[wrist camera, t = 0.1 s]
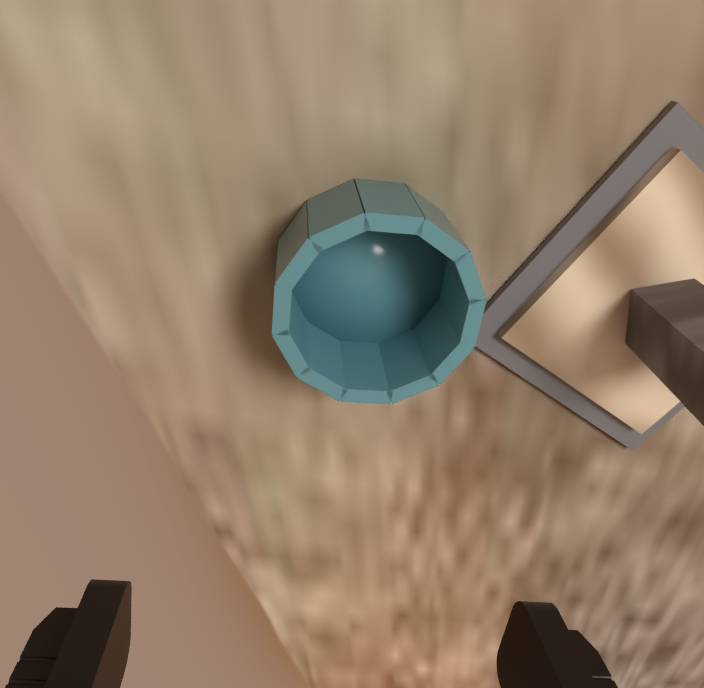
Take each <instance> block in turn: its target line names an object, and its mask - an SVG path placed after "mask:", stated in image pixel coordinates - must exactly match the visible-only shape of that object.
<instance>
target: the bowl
mask: <svg viewBox="0 0 704 688" xmlns="http://www.w3.org/2000/svg"><path fill="white" fill-rule="evenodd" d="M486 299H487V298H486V295H485V292H484V289H483V287H482V284H481V281H480V278H479V275H478V272H477V269H476V266H475V263H474V261H473V258H472V255H471V252H470V250H469V249H468V247H467V246H466V245H465V243H464V242H463V240H462V239H461V237H460V236H459V234H458V233H457V231H456V230H455V229H454V227H453V226H452V224H451V223H450V221H449V220H448V218H447V217H446V215H445V214H444V213H443V212H442V211H441V210H439V209H438V208H437V207H435V206H434V205H433V204H431V203H430V202H429V201H427V200H426V199H425V198H423V197H422V196H421V195H420V194H418V193H417V192H416V191H414V190H413V189H412V188H410V187H409V186H408V185H405V184H402V183H392V182H381V181H371V180H361V179H355V181H354V180H350V181H348V182H346V183H344V184H342V185H339V186H337V187H335V188H333V189H331V190H328V191H326V192H324V193H322V194H320V195H317V196H315V197H313V198H311V199H309V200H307V201H306V202H305V203H304V205H303V206H302V208H301V209H300V210H299V212H298V213H297V215H296V216H295V217H294V219H293V220H292V222H291V223H290V225H289V226H288V227H287V229H286V230H285V232H284V233H283V235H282V236H281V237H280V239H279V240H278V247H277V259H276V272H275V285H274V303H273V320H272V337H273V338H274V340H275V342H276V344H277V345H278V347H279V349H280V350H281V352H282V354H283V355H284V357H285V359H286V361H287V362H288V364H289V366H290V367H291V369H292V371H293V372H294V374H295V376H296V377H297V378H298V379H300V380H302V381H304V382H305V383H307V384H309V385H311V386H313V387H314V388H316V389H318V390H320V391H322V392H323V393H325V394H327V395H329V396H331V397H332V398H334V399H336V400H338V401H340V400H341V402H356V403H376V404H391V403H392V404H393V403H396V402H398V401H401V400H403V399H406V398H408V397H411V396H413V395H416V394H418V393H421V392H423V391H426V390H428V389H431V388H434V387H436V386H439V385H438V384H441V383H442V382H443V381H444V380H445V379H446V378H447V377H448V376H449V375H450V373H451V372H452V371H453V370H454V369H455V368H456V367H457V366H458V365H459V364H460V363H461V362H462V361H463V360H464V359H465V357H466V356H467V355H468V354H469V353H470V352H471V351H472V350H473V349H474V347H475V344H476V340H477V336H478V332H479V328H480V325H481V321H482V317H483V313H484V309H485V305H486V301H487V300H486Z"/></svg>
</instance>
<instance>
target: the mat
mask: <svg viewBox="0 0 704 688" xmlns="http://www.w3.org/2000/svg"><path fill="white" fill-rule="evenodd" d="M671 147H675V148H677V149H680V150H682V151H683V152H684V153H685V154H686V155H687V156H688V157H689V158H690V159H691V160H692V161H693V162H694V163H695V164H696V165H697V166H698V167H699V168H700V169H701V170H702V171H703V172H704V129H703V128H702V127H701V126H700V125H699V124H698V123H697V122H696V121H695V120H694V119H693V118H692V117H691V116H690V115H689V114H688V112H687V111H686V110H685V109H684V108H683V107H682V106H681V105H680V104H679V103H678V102H674V101H672V102H671V103H670V104H669V105H668V106H667V107H666V108H665V110H664V111H663V112H662V113H661V114H660V115H659V116H658V117H657V118H656V119H655V121H654V122H653V123H652V124H651V125H650V126H649V127H648V128H647V129H646V130H645V131H644V133H643V134H642V135H641V136H640V137H639V138H638V139H637V140H636V141H635V142H634V143H633V145H632V146H631V147H630V148H629V149H628V150H627V151H626V152H625V153H624V154H623V155H622V157H621V158H620V159H619V160H618V161H617V162H616V163H615V164H614V165H613V166H612V167H611V169H610V170H609V171H608V172H607V173H606V174H605V175H604V176H603V177H602V178H601V179H600V181H599V182H598V183H597V184H596V185H595V186H594V187H593V188H592V189H591V190H590V192H589V193H588V194H587V195H586V196H585V197H584V198H583V199H582V200H581V201H580V202H579V204H578V205H577V206H576V207H575V208H574V209H573V210H572V211H571V212H570V213H569V214H568V216H567V217H566V218H565V219H564V220H563V221H562V222H561V223H560V224H559V225H558V226H557V228H556V229H555V230H554V231H553V232H552V233H551V234H550V235H549V236H548V237H547V238H546V240H545V241H544V242H543V243H542V244H541V245H540V246H539V247H538V248H537V249H536V251H535V252H534V253H533V254H532V255H531V256H530V257H529V258H528V259H527V260H526V261H525V263H524V264H523V265H522V266H521V267H520V268H519V269H518V270H517V271H516V272H515V273H514V275H513V276H512V277H511V278H510V279H509V280H508V281H507V282H506V283H505V284H504V285H503V287H502V288H501V289H500V290H499V291H498V292H497V293H496V294H495V295H494V296H493V297H492V299H491V300H490V301H489V302H488V303H487V304H486V305H485V309H484V313H483V317H482V321H481V325H480V328H479V332H478V336H477V340H476V344H475V346H476V347H477V348H479V349H480V350H482V351H483V352H485V353H486V354H488V355H489V356H491V357H492V358H494V359H495V360H497V361H498V362H500V363H501V364H503V365H504V366H506V367H507V368H509V369H510V370H512V371H513V372H515V373H516V374H518V375H519V376H521V377H522V378H524V379H525V380H527V381H529V382H530V383H532V384H533V385H535V386H536V387H538V388H539V389H541V390H542V391H544V392H545V393H547V394H548V395H550V396H551V397H553V398H554V399H556V400H557V401H559V402H560V403H562V404H563V405H565V406H566V407H568V408H569V409H571V410H572V411H574V412H575V413H577V414H578V415H580V416H581V417H583V418H584V419H586V420H587V421H589V422H590V423H592V424H593V425H595V426H596V427H598V428H599V429H601V430H602V431H604V432H605V433H607V434H608V435H610V436H611V437H613V438H614V439H616V440H617V441H619V442H620V443H622V444H623V445H625V446H626V447H628V448H629V449H631V450H632V451H633V450H634V449H635V448H636V447H637V446H639V445H640V444H641V443H642V442H643V441H645V440H646V439H647V438H648V437H649V436H650V435H652V434H653V433H654V432H655V431H656V430H658V429H659V428H660V427H661V426H662V425H663V424H665V423H666V422H667V421H668V420H669V419H671V418H672V417H673V416H674V415H675V414H676V413H678V412H679V411H680V410H681V409H682V408H684V407H685V406H684V405H683V404H682V403H681V402H679V403H678V404H677V405H675V406H674V407H673V408H672V409H671V410H670V411H668V412H667V413H666V414H665V415H664V416H663V417H661V418H660V419H659V420H658V421H657V422H656V423H654V424H653V425H652V426H651V427H650V428H648V429H647V430H646V431H645V432H644V433H643V434H641V433H639V432H638V431H636V430H635V429H633V428H632V427H630V426H629V425H627V424H626V423H625V422H623V421H622V420H620V419H619V418H617V417H616V416H614V415H613V414H611V413H610V412H609V411H607V410H606V409H604V408H603V407H601V406H600V405H598V404H597V403H595V402H594V401H592V400H591V399H590V398H588V397H587V396H585V395H584V394H582V393H581V392H579V391H578V390H576V389H575V388H574V387H572V386H571V385H569V384H568V383H566V382H565V381H563V380H562V379H560V378H559V377H558V376H556V375H555V374H553V373H552V372H550V371H549V370H547V369H546V368H544V367H543V366H542V365H540V364H539V363H537V362H536V361H534V360H533V359H531V358H530V357H528V356H527V355H526V354H524V353H523V352H521V351H520V350H518V349H517V348H515V347H514V346H512V345H511V344H509V343H508V342H507V341H505V340H504V339H502V338H501V336H500V335H499V333H498V330H499V329H500V328H501V327H502V326H503V325H504V324H505V323H506V322H507V321H508V320H509V319H510V317H511V316H512V315H513V314H514V313H515V312H516V311H517V310H518V309H519V308H520V307H521V306H522V305H523V304H524V303H525V302H526V301H527V299H528V298H529V297H530V296H531V295H532V294H533V293H534V292H535V291H536V290H537V289H538V288H539V287H540V286H541V285H542V284H543V283H544V282H545V280H546V279H547V278H548V277H549V276H550V275H551V274H552V273H553V272H554V271H555V270H556V269H557V268H558V267H559V266H560V265H561V264H562V262H563V261H564V260H565V259H566V258H567V257H568V256H569V255H570V254H571V253H572V252H573V251H574V250H575V249H576V248H577V247H578V246H579V245H580V243H581V242H582V241H583V240H584V239H585V238H586V237H587V236H588V235H589V234H590V233H591V232H592V231H593V230H594V229H595V228H596V227H597V225H598V224H599V223H600V222H601V221H602V220H603V219H604V218H605V217H606V216H607V215H608V214H609V213H610V212H611V211H612V210H613V209H614V208H615V206H616V205H617V204H618V203H619V202H620V201H621V200H622V199H623V198H624V197H625V196H626V195H627V194H628V193H629V192H630V191H631V190H632V188H633V187H634V186H635V185H636V184H637V183H638V182H639V181H640V180H641V179H642V178H643V177H644V176H645V175H646V174H647V173H648V172H649V171H650V169H651V168H652V167H653V166H654V165H655V164H656V163H657V162H658V161H659V160H660V159H661V158H662V157H663V156H664V155H665V154H666V153H667V151H668V150H669V149H670V148H671Z"/></svg>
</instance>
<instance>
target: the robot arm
mask: <svg viewBox="0 0 704 688" xmlns="http://www.w3.org/2000/svg"><path fill="white" fill-rule="evenodd" d="M131 589H132V588H131V582H130V581H114V580H91V581H90V582H89V583H88V585H87V588H86V590H85V592H84V595H83V597H82V599H81V602H80V604H79V606H78V608H57V607H56V608H55V609H54V610H53V611H52V612H51V613H50V614H49V615H48V616H47V617H46V618H45V619H44V620H43V621H42V622H41V623H40V624H39V625H38V626H37V627H36V628H35V629H34V630H33V631H32V634H31V636H30V638H29V640H28V642H27V644H26V646H25V648H24V651H23V652H22V654H21V656H20V661H19V662H17V664H16V666H15V668H14V670H13V673H12V675H11V677H10V679H9V683H8V685H6V687H5V688H120V686H121V682H122V679H123V675H124V672H125V668H126V664H127V658H128V653H129V647H130V637H131ZM497 674H498V679H499V683H500V686H501V688H618V687H617V685H616V684H615V682H614V681H612V679H611V674H610V673H609V671H608V669H607V667H606V665H605V663H604V662H603V660H602V658H601V656H600V654H599V652H598V651H597V650H596V649H595V648H594V647H593V646H592V645H591V644H590V643H589V642H588V641H587V640H586V639H585V638H584V637H583V635H582V634H581V633H580V632H579V631H578V630H568V628H567V627H566V625H565V623H564V621H563V619H562V617H561V615H560V613H559V611H558V609H557V608H556V606H555V605H554V604H552V603H543V602H522V601H518V602H516V603H515V604H514V606H513V608H512V611H511V614H510V617H509V620H508V623H507V626H506V629H505V632H504V635H503V638H502V641H501V644H500V647H499V650H498V654H497Z"/></svg>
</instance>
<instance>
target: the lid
mask: <svg viewBox="0 0 704 688" xmlns="http://www.w3.org/2000/svg"><path fill="white" fill-rule="evenodd" d="M498 333H499V335H500V336H501V338H502V339H504V340H505V341H507V342H508V343H509V344H511V345H512V346H514V347H515V348H517V349H518V350H520V351H521V352H523V353H524V354H526V355H527V356H528V357H530V358H531V359H533V360H534V361H536V362H537V363H539V364H540V365H542V366H543V367H544V368H546V369H547V370H549V371H550V372H552V373H553V374H555V375H556V376H558V377H559V378H560V379H562V380H563V381H565V382H566V383H568V384H569V385H571V386H572V387H574V388H575V389H576V390H578V391H579V392H581V393H582V394H584V395H585V396H587V397H588V398H590V399H591V400H592V401H594V402H595V403H597V404H598V405H600V406H601V407H603V408H604V409H606V410H607V411H609V412H610V413H611V414H613V415H614V416H616V417H617V418H619V419H620V420H622V421H623V422H625V423H626V424H627V425H629V426H630V427H632V428H633V429H635V430H636V431H638V432H639V433H641V434H643V433H644V432H645V431H646V430H647V429H648V428H650V427H651V426H652V425H653V424H654V423H656V422H657V421H658V420H659V419H660V418H661V417H663V416H664V415H665V414H666V413H667V412H668V411H670V410H671V409H672V408H673V407H674V406H675V405H677V404H678V403H679V402H681V403H682V404H683V405H684V406H685V407H686V408H687V409H688V410H689V411H690V412H691V413H692V414H693V415H694V416H695V417H696V418H697V419H698V420H699V421H700V422H701V424H702V425H703V426H704V172H703V171H702V170H701V169H700V168H699V167H698V166H697V165H696V164H695V163H694V162H693V161H692V160H691V159H690V158H689V157H688V156H687V155H686V154H685V153H684V152H683V151H682V150H680V149H677V148H675V147H671V148H670V149H669V150H668V151H667V153H666V154H665V155H664V156H663V157H662V158H661V159H660V160H659V161H658V162H657V163H656V164H655V165H654V166H653V167H652V168H651V169H650V171H649V172H648V173H647V174H646V175H645V176H644V177H643V178H642V179H641V180H640V181H639V182H638V183H637V184H636V185H635V186H634V187H633V188H632V190H631V191H630V192H629V193H628V194H627V195H626V196H625V197H624V198H623V199H622V200H621V201H620V202H619V203H618V204H617V205H616V206H615V208H614V209H613V210H612V211H611V212H610V213H609V214H608V215H607V216H606V217H605V218H604V219H603V220H602V221H601V222H600V223H599V224H598V225H597V227H596V228H595V229H594V230H593V231H592V232H591V233H590V234H589V235H588V236H587V237H586V238H585V239H584V240H583V241H582V242H581V243H580V245H579V246H578V247H577V248H576V249H575V250H574V251H573V252H572V253H571V254H570V255H569V256H568V257H567V258H566V259H565V260H564V261H563V262H562V264H561V265H560V266H559V267H558V268H557V269H556V270H555V271H554V272H553V273H552V274H551V275H550V276H549V277H548V278H547V279H546V280H545V282H544V283H543V284H542V285H541V286H540V287H539V288H538V289H537V290H536V291H535V292H534V293H533V294H532V295H531V296H530V297H529V298H528V299H527V301H526V302H525V303H524V304H523V305H522V306H521V307H520V308H519V309H518V310H517V311H516V312H515V313H514V314H513V315H512V316H511V317H510V319H509V320H508V321H507V322H506V323H505V324H504V325H503V326H502V327H501V328H500V329H499V330H498Z"/></svg>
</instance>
